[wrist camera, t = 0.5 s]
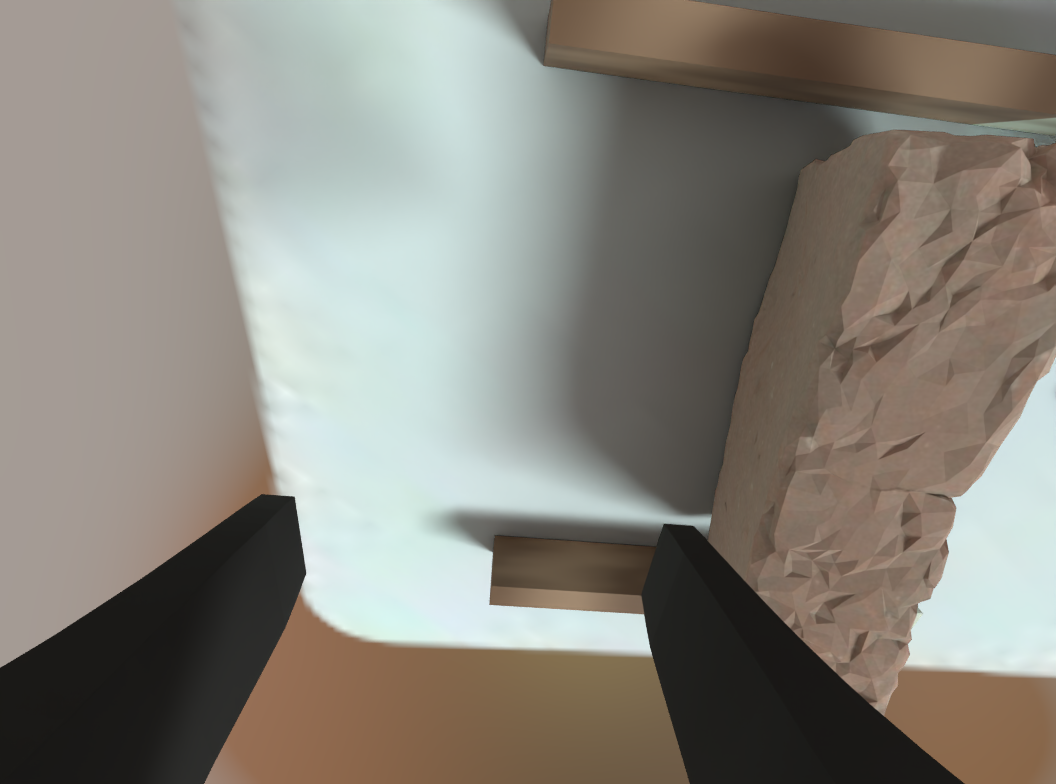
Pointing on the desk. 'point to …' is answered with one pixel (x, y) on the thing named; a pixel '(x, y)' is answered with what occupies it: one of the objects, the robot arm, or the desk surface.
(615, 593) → the lane
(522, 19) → the desk surface
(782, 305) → the brick
